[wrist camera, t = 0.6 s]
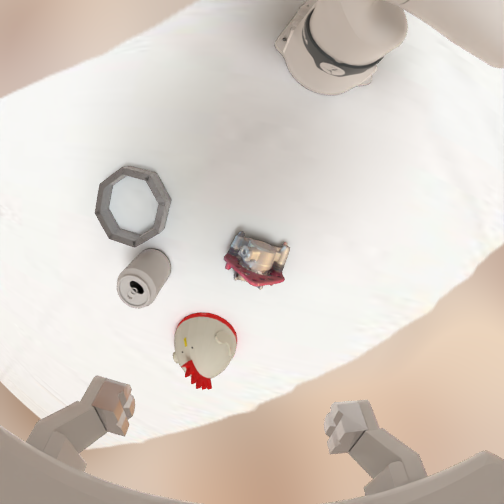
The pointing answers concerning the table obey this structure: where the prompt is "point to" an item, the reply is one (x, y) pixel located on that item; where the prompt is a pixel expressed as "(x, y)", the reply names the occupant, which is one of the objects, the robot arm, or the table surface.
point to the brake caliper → (256, 261)
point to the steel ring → (107, 217)
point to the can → (143, 278)
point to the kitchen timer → (204, 347)
